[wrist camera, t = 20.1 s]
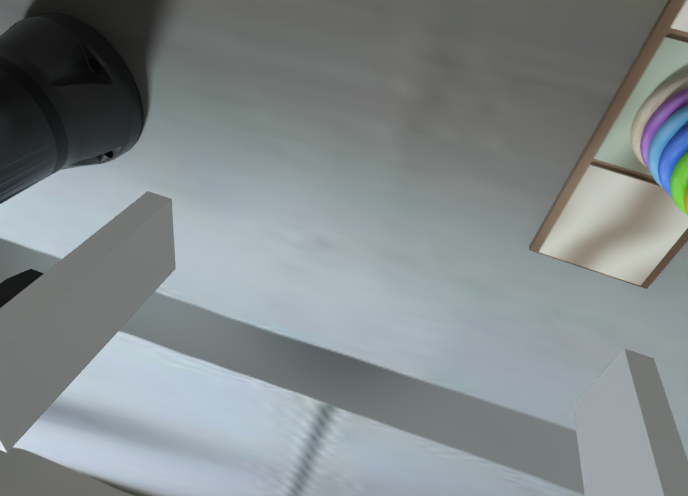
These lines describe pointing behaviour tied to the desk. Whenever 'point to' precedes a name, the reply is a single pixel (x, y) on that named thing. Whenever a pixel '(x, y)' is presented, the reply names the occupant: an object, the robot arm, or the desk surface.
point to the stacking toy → (665, 138)
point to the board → (622, 177)
